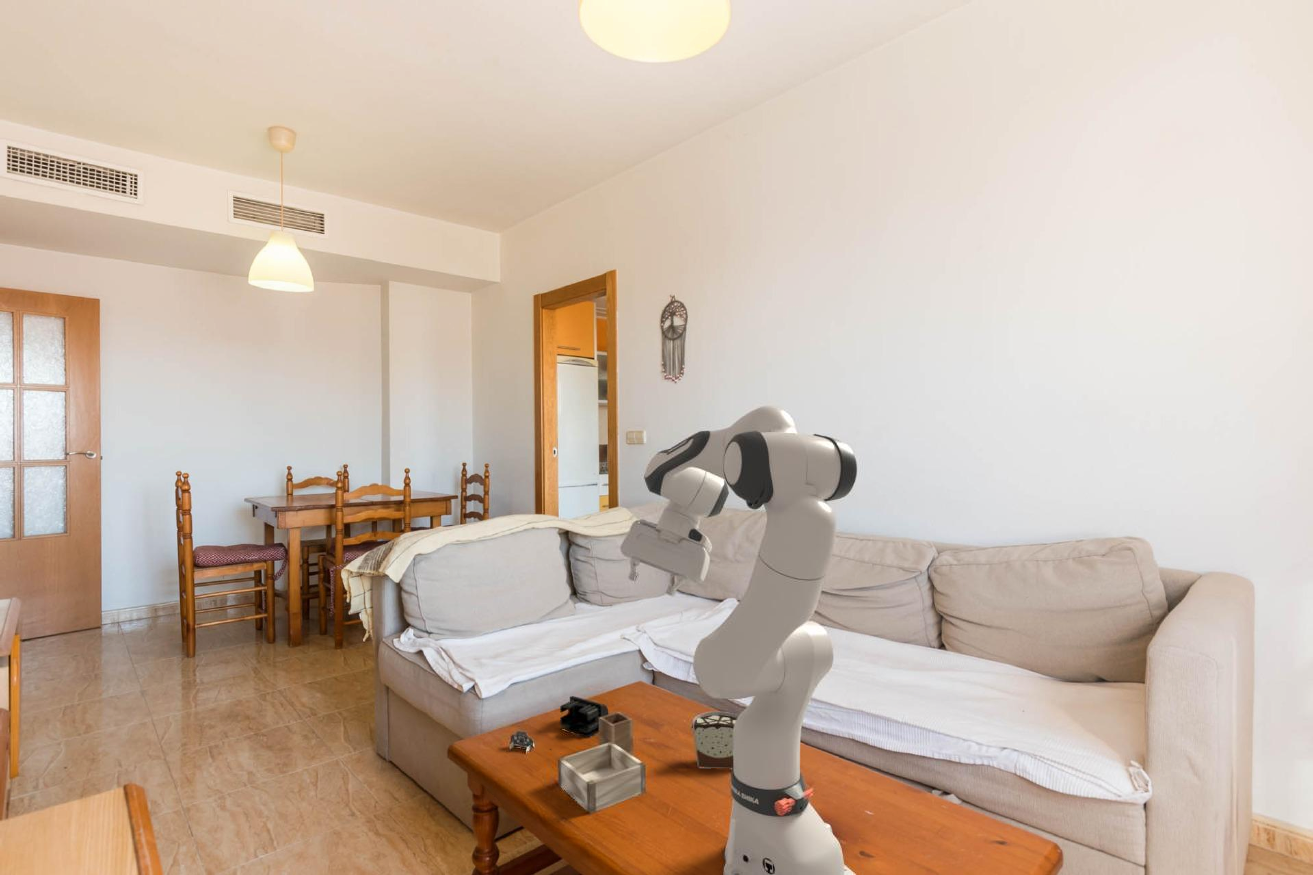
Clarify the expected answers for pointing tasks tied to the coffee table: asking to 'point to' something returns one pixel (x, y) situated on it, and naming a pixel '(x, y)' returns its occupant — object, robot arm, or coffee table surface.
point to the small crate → (617, 731)
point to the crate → (601, 776)
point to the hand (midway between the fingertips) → (650, 587)
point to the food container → (714, 739)
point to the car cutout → (521, 741)
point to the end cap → (582, 716)
